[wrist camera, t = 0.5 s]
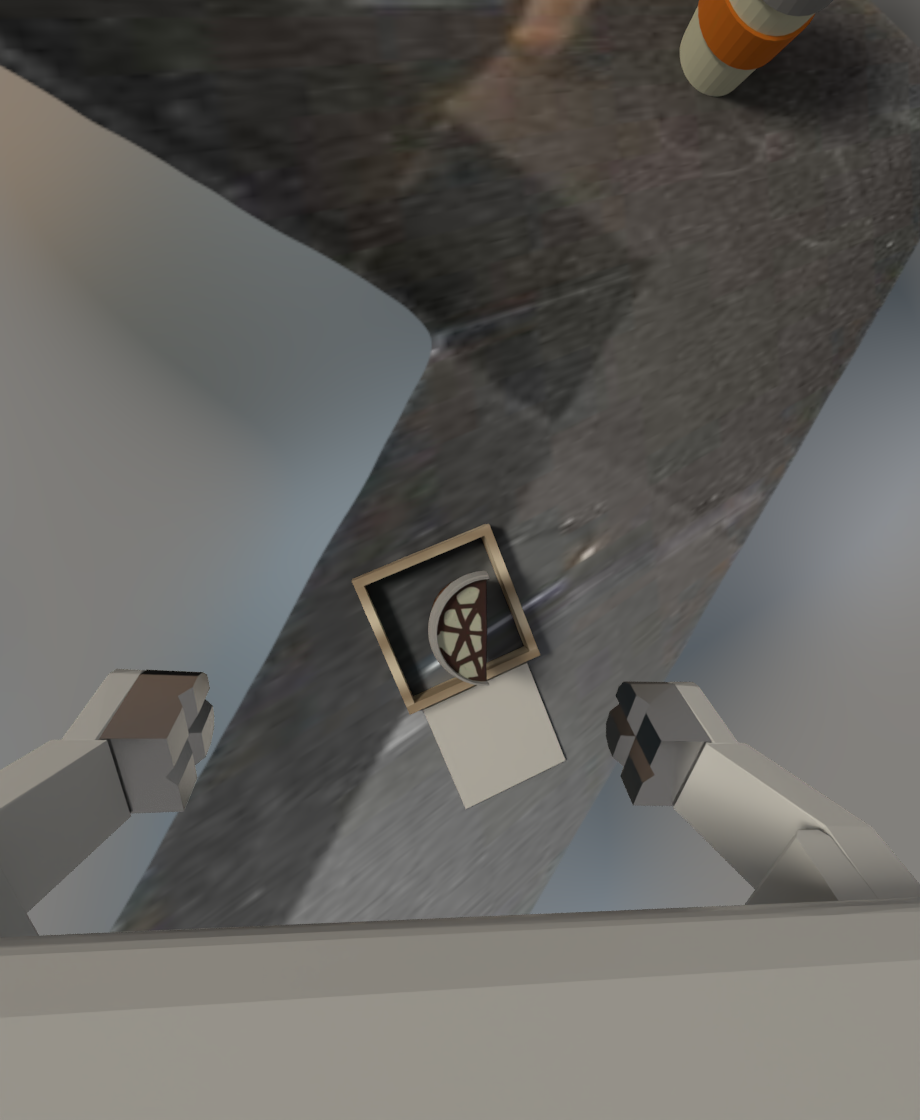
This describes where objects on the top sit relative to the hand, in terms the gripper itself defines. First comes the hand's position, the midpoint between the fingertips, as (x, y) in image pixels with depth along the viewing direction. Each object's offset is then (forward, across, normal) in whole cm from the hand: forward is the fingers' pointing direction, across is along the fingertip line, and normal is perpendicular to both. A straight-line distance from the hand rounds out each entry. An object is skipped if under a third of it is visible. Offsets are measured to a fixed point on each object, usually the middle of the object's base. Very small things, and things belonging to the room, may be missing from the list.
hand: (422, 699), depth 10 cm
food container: (+43, +7, -29) cm, 53 cm away
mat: (+37, +14, -42) cm, 58 cm away
